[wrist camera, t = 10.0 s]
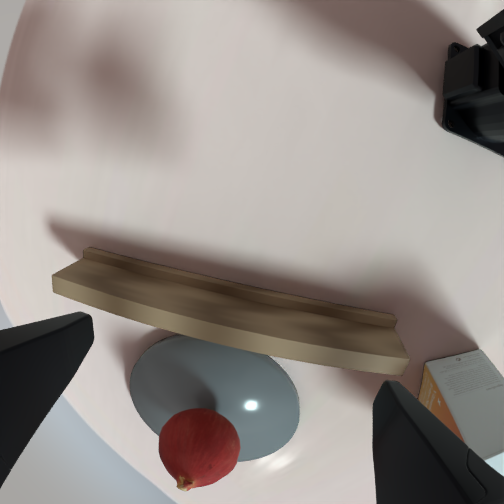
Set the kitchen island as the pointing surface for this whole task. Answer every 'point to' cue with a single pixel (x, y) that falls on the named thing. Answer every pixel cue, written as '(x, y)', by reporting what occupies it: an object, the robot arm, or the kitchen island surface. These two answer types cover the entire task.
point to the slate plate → (217, 390)
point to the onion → (198, 447)
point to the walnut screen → (235, 313)
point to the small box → (468, 402)
